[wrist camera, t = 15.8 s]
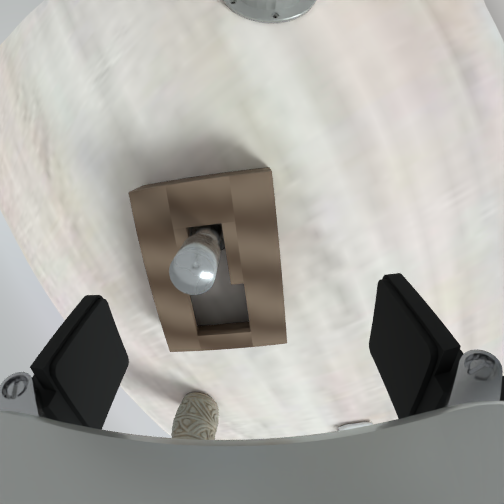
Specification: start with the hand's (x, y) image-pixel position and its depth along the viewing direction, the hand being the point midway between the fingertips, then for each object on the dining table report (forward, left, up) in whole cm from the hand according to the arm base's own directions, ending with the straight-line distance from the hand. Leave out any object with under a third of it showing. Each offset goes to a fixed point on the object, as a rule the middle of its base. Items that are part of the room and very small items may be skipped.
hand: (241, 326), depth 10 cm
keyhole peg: (+4, -5, -29) cm, 30 cm away
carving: (+36, -13, -29) cm, 48 cm away
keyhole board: (+9, -5, -29) cm, 31 cm away
